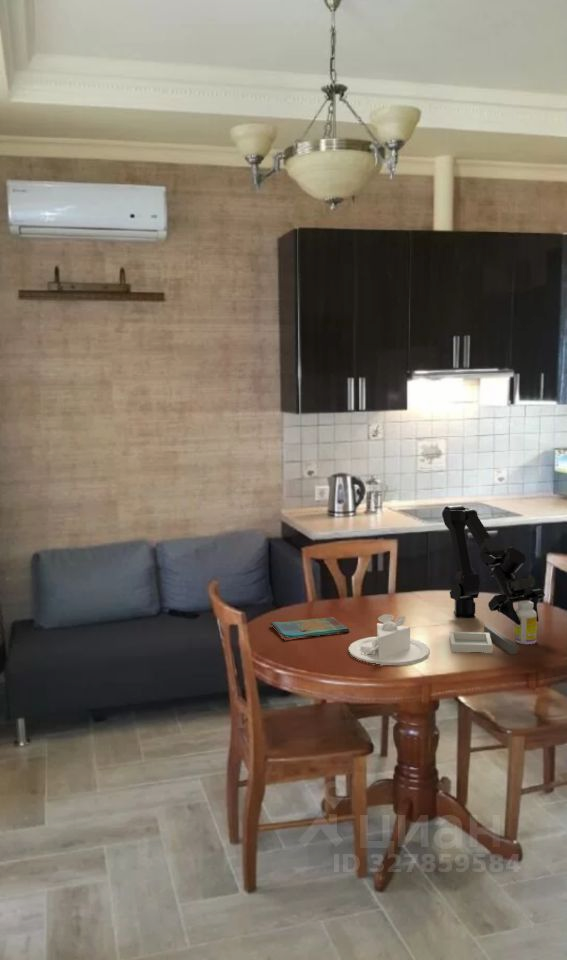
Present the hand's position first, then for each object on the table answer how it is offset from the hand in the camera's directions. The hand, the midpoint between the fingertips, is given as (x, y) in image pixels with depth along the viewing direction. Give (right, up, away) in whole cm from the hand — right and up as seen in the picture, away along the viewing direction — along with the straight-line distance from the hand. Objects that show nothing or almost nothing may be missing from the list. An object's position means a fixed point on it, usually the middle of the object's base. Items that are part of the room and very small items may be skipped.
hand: (528, 622), depth 251 cm
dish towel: (-69, -7, +20) cm, 72 cm away
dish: (-45, -9, -4) cm, 46 cm away
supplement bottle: (0, -7, +2) cm, 7 cm away
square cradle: (-18, -7, -1) cm, 20 cm away
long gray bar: (-9, -7, +1) cm, 11 cm away
